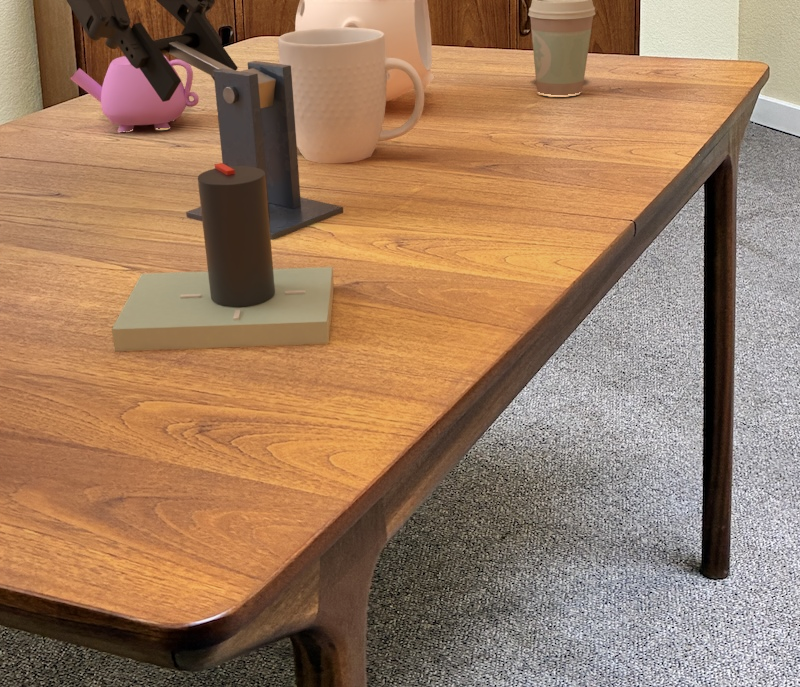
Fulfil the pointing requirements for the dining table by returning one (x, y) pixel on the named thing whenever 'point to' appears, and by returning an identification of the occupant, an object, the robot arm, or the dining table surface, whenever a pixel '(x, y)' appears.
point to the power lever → (211, 62)
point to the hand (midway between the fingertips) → (200, 84)
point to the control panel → (224, 313)
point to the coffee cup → (560, 43)
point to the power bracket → (265, 144)
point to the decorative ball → (389, 13)
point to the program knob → (237, 235)
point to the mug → (342, 91)
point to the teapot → (136, 95)
